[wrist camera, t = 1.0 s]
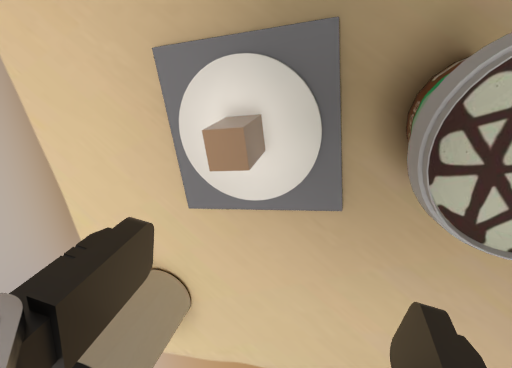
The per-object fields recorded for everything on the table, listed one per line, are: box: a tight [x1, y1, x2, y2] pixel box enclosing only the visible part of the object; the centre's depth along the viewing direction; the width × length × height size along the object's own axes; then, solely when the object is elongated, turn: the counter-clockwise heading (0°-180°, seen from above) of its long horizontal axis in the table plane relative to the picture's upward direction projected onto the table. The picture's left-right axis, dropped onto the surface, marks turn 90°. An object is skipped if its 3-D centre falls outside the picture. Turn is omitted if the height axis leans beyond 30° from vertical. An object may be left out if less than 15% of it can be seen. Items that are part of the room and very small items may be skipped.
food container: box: [406, 33, 512, 260], centre depth 19 cm, size 12×6×10 cm, turn 20°
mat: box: [152, 17, 342, 211], centre depth 27 cm, size 16×16×1 cm
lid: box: [179, 53, 322, 200], centre depth 25 cm, size 13×13×6 cm
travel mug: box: [72, 270, 190, 368], centre depth 32 cm, size 8×8×18 cm
